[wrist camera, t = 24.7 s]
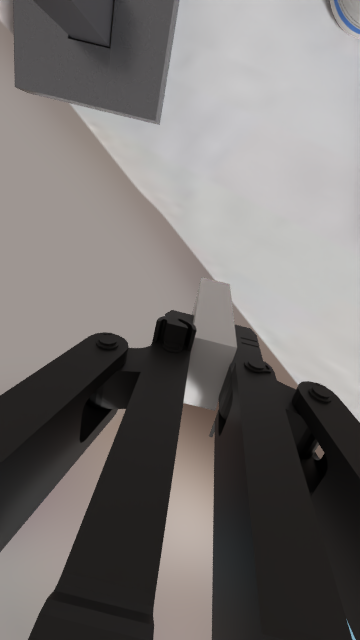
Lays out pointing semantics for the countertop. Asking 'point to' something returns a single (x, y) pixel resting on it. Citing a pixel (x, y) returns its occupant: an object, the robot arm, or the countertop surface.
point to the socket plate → (98, 59)
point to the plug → (82, 18)
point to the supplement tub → (347, 15)
